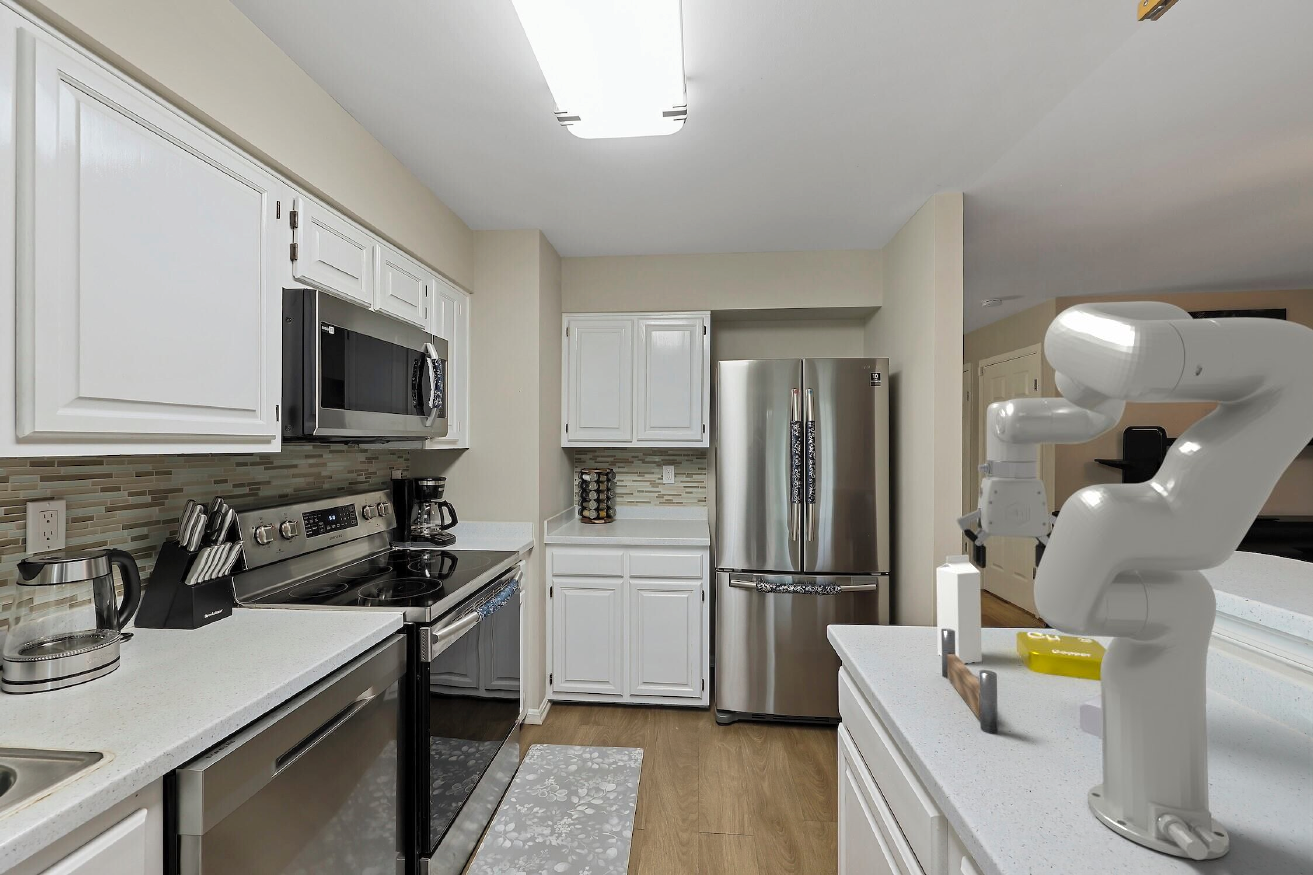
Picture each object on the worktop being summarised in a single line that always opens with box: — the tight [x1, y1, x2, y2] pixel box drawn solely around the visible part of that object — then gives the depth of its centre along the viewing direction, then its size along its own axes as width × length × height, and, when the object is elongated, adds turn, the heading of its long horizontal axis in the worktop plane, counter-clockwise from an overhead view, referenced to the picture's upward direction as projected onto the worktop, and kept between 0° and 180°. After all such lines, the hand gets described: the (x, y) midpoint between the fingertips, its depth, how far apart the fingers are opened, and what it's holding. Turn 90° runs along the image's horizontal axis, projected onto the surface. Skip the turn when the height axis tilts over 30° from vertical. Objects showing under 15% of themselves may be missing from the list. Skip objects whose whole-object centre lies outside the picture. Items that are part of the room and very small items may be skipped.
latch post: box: [941, 629, 955, 679], centre depth 112 cm, size 2×2×9 cm
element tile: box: [1016, 631, 1107, 682], centre depth 118 cm, size 15×15×5 cm
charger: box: [1079, 694, 1102, 739], centre depth 90 cm, size 5×9×15 cm
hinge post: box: [979, 669, 999, 734], centre depth 91 cm, size 2×2×9 cm
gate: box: [947, 654, 980, 721], centre depth 101 cm, size 18×2×4 cm, turn 168°
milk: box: [935, 554, 983, 665], centre depth 122 cm, size 6×6×22 cm
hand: (1010, 567), depth 101 cm, fingers open, 9 cm apart
